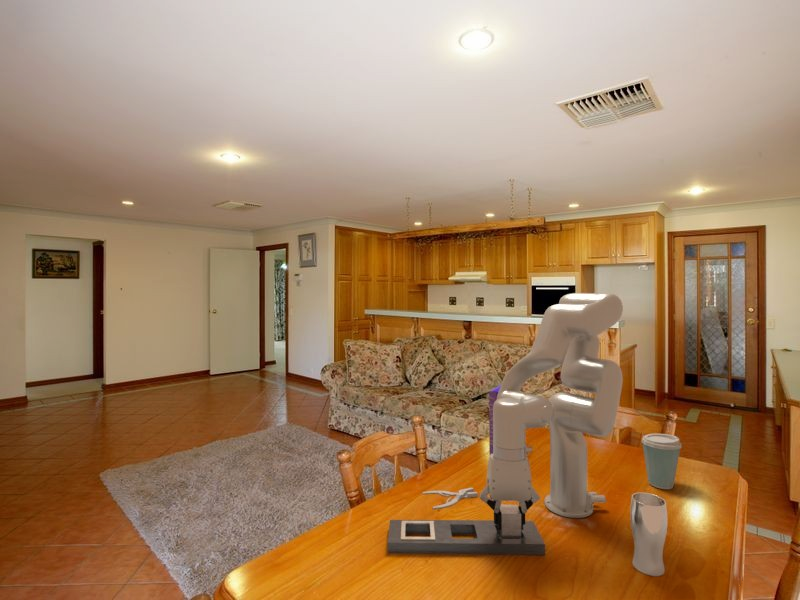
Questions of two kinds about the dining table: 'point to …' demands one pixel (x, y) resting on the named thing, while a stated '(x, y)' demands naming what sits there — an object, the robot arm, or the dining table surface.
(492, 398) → the cereal box
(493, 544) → the rail
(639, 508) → the beer glass
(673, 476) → the disposable coffee cup
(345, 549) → the dining table surface
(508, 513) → the steel block
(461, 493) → the pliers
